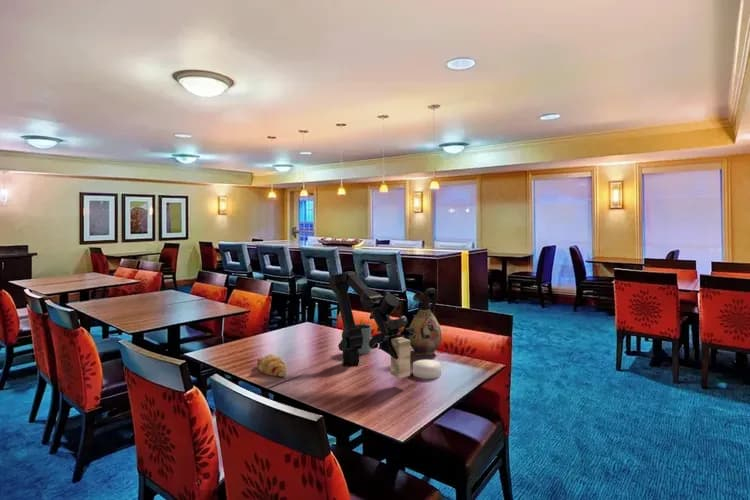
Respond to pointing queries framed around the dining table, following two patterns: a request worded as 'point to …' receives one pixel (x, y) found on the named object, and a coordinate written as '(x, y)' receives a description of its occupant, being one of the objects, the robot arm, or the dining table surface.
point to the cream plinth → (427, 369)
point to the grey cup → (365, 338)
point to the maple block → (401, 357)
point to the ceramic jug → (425, 325)
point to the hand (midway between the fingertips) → (403, 357)
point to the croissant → (272, 366)
